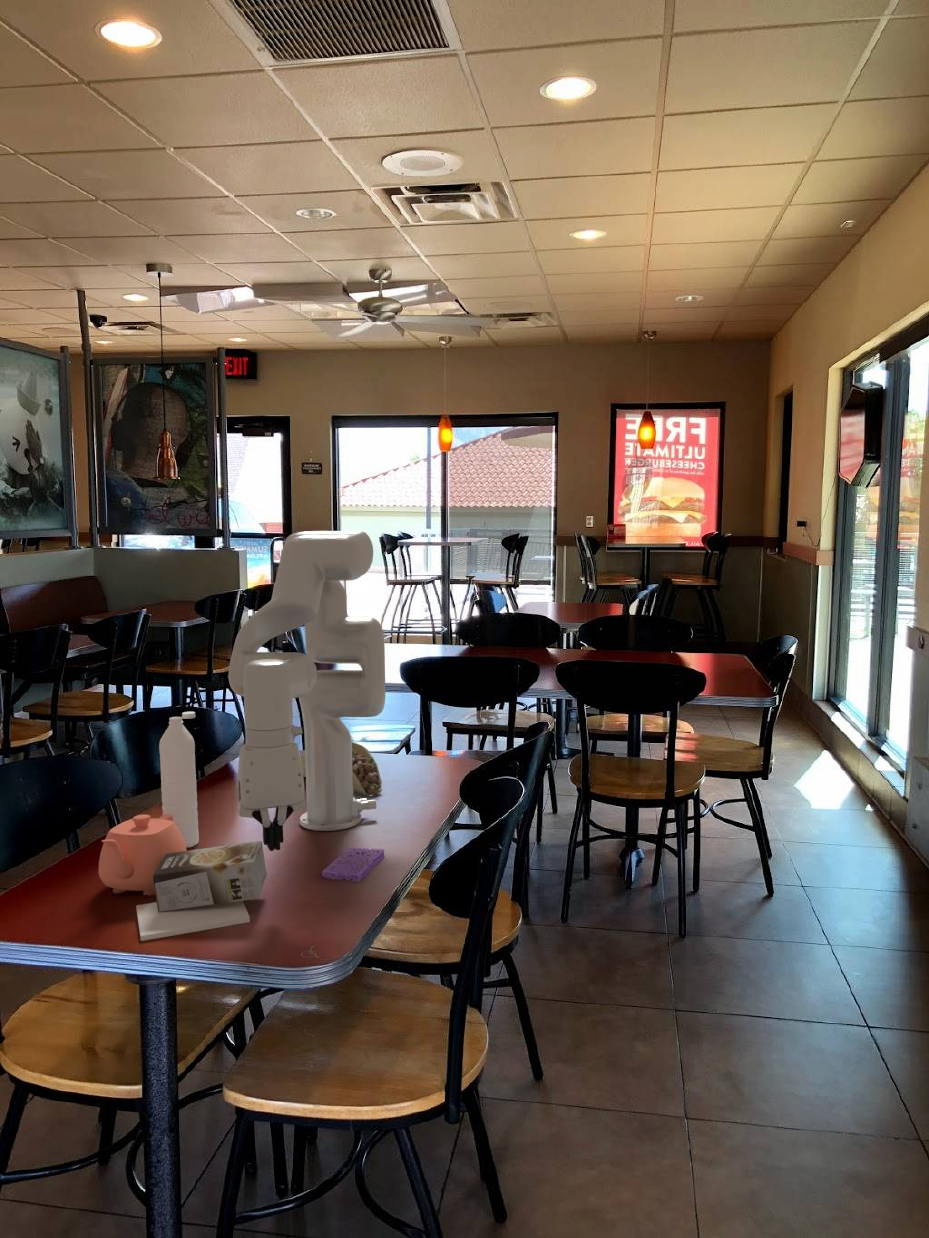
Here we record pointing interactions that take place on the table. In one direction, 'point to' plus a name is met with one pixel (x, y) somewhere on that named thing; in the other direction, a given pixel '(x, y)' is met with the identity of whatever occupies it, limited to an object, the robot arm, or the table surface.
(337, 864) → the sponges
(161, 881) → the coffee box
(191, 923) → the mat
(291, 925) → the table surface
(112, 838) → the teapot
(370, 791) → the taco
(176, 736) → the water bottle
